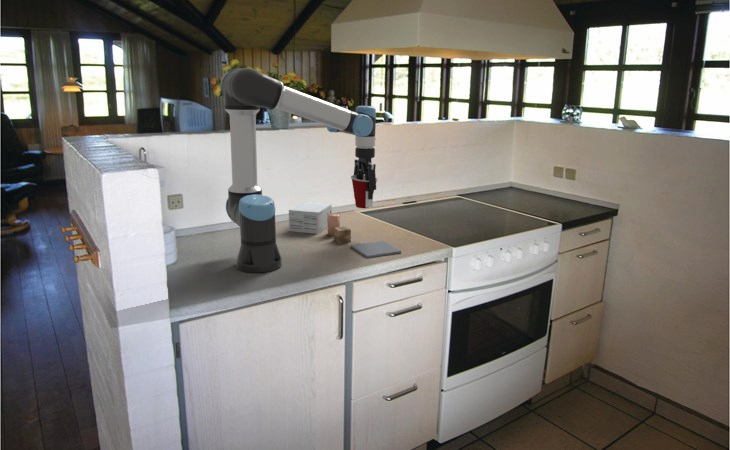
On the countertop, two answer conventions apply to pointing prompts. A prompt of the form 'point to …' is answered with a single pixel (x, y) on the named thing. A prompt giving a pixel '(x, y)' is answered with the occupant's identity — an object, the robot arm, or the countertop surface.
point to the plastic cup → (360, 191)
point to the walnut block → (342, 234)
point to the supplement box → (309, 217)
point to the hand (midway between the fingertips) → (363, 204)
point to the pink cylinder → (333, 223)
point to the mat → (375, 249)
